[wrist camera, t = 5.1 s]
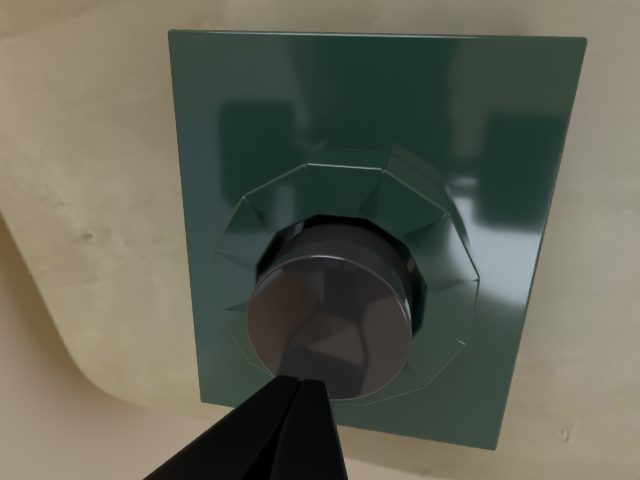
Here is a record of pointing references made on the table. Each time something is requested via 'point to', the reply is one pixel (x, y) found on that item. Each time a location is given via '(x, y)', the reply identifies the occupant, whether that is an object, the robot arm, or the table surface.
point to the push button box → (376, 196)
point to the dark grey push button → (334, 310)
